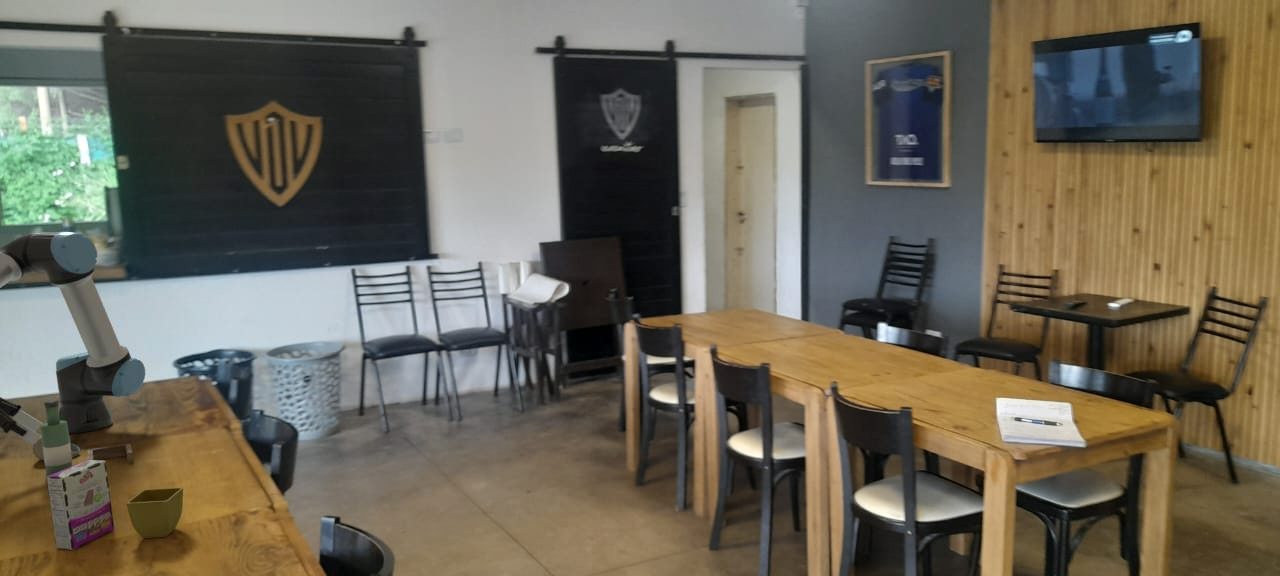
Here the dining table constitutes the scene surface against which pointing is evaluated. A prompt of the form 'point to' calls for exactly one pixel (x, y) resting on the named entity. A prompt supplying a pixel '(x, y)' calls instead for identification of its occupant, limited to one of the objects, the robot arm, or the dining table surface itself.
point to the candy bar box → (80, 504)
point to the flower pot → (156, 511)
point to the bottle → (55, 440)
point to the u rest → (111, 452)
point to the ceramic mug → (39, 449)
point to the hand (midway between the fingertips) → (38, 434)
